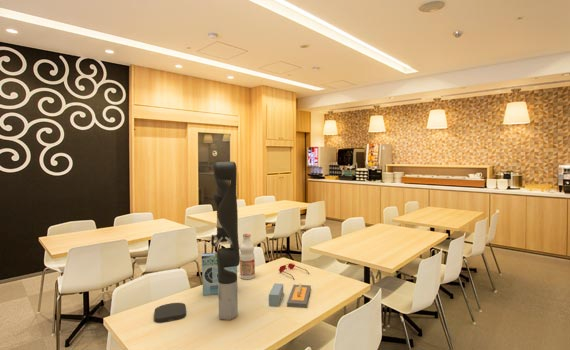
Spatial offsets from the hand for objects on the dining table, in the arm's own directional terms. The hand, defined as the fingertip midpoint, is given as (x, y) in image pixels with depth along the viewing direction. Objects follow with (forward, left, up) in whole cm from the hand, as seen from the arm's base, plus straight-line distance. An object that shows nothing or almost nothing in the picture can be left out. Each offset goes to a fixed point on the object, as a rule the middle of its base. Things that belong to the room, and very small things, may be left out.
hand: (223, 251), depth 189 cm
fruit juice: (+18, -9, -22) cm, 30 cm away
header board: (-7, -46, -22) cm, 51 cm away
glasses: (+28, -38, -23) cm, 52 cm away
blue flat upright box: (-8, 0, -22) cm, 23 cm away
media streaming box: (-35, +15, -23) cm, 45 cm away
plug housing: (-9, -34, -22) cm, 42 cm away
